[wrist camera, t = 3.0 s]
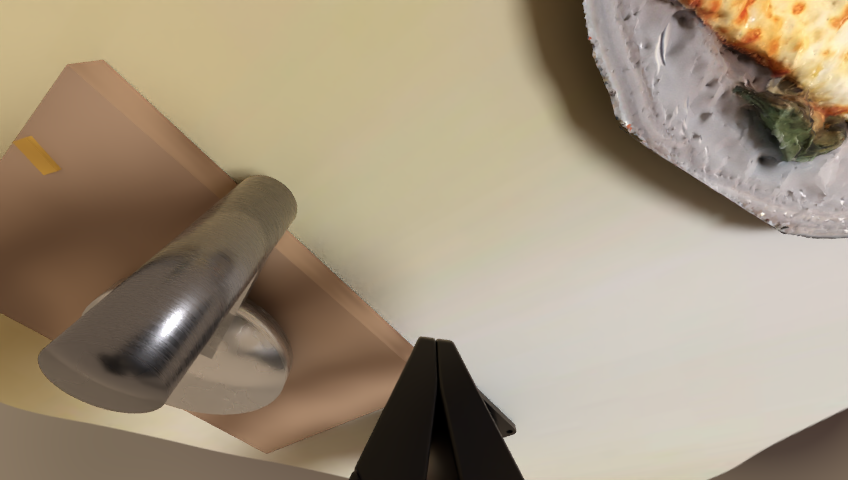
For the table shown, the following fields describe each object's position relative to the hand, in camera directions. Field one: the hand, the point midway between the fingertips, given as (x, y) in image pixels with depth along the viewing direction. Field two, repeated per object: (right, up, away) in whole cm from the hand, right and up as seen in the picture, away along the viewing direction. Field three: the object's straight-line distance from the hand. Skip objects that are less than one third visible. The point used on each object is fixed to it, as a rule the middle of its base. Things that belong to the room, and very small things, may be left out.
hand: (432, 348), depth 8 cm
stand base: (-12, -2, +12) cm, 17 cm away
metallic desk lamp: (-11, -1, +9) cm, 14 cm away
